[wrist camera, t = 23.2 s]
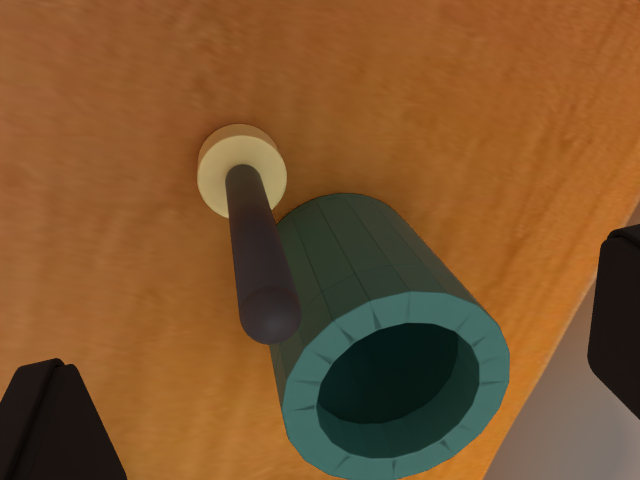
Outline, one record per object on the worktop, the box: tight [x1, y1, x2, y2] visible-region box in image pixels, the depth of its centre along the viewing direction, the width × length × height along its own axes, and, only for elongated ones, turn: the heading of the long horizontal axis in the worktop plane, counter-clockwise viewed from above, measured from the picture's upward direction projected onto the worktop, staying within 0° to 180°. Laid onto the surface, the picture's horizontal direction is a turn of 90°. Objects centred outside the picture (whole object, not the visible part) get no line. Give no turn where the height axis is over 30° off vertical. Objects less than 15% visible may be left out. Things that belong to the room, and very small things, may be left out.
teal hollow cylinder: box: [269, 193, 510, 480], centre depth 31 cm, size 11×11×13 cm
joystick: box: [197, 124, 302, 345], centre depth 24 cm, size 5×5×18 cm
